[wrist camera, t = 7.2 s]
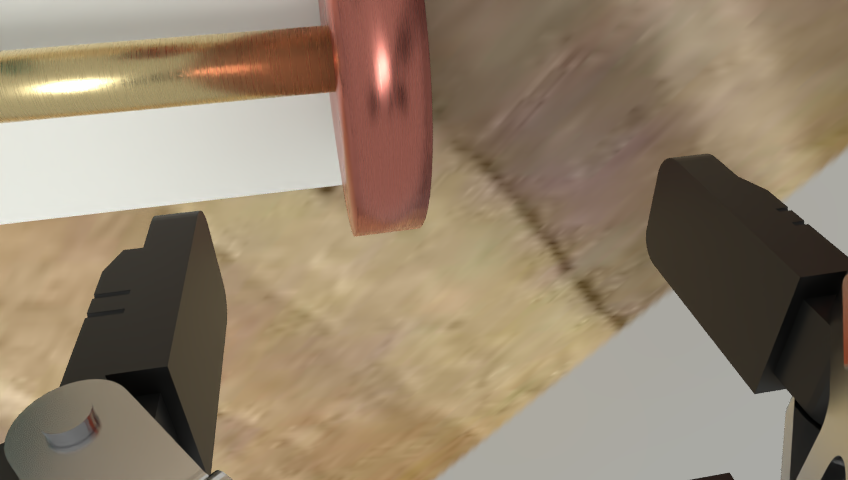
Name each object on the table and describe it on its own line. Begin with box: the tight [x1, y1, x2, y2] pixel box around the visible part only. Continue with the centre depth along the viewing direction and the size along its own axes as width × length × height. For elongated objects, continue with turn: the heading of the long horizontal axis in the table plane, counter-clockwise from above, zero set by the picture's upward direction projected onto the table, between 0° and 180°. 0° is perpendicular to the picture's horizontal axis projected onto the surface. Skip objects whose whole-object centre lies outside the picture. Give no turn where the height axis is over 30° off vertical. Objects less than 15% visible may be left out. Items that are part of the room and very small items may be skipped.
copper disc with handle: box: [0, 0, 433, 236], centre depth 17 cm, size 18×10×10 cm, turn 91°
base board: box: [0, 0, 342, 225], centre depth 21 cm, size 26×14×1 cm, turn 91°
